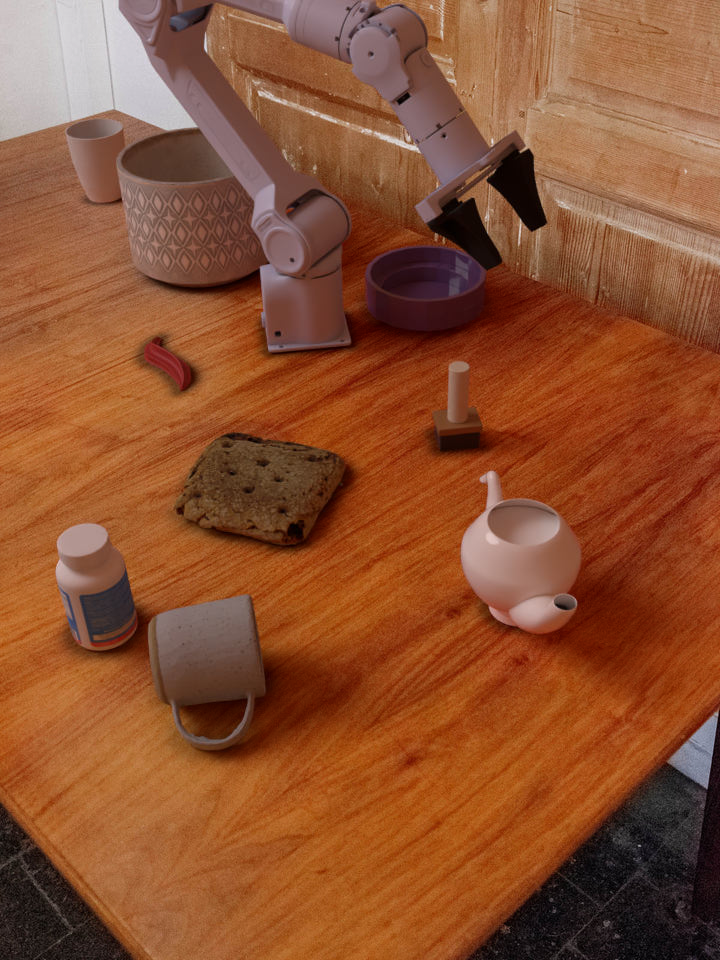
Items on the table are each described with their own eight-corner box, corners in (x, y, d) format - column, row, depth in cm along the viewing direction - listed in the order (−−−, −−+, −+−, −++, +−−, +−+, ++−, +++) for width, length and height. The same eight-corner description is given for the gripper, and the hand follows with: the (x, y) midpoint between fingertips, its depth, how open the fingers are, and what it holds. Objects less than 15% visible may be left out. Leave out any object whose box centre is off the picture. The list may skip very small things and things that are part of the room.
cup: (139, 185, 163) (129, 118, 157) (125, 207, 157) (114, 139, 151) (87, 184, 164) (74, 118, 158) (70, 206, 158) (57, 139, 152)
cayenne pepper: (141, 341, 127) (139, 326, 126) (181, 335, 128) (179, 320, 127) (151, 395, 118) (149, 380, 117) (194, 389, 119) (192, 374, 118)
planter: (129, 239, 149) (111, 135, 140) (264, 222, 152) (255, 120, 143) (139, 303, 134) (120, 192, 126) (288, 283, 137) (280, 173, 129)
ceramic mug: (158, 657, 88) (143, 589, 83) (259, 642, 89) (251, 573, 84) (163, 765, 79) (148, 696, 75) (275, 747, 80) (267, 677, 76)
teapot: (530, 522, 100) (538, 440, 94) (617, 685, 84) (632, 598, 78) (429, 539, 98) (430, 456, 93) (498, 708, 83) (505, 621, 77)
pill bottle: (150, 613, 92) (132, 524, 86) (118, 659, 88) (97, 569, 82) (92, 600, 93) (71, 511, 87) (59, 644, 89) (34, 554, 83)
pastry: (209, 576, 95) (205, 550, 93) (145, 471, 107) (141, 446, 106) (384, 514, 101) (384, 488, 99) (304, 421, 113) (303, 397, 112)
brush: (438, 453, 108) (440, 378, 103) (431, 433, 111) (433, 359, 106) (481, 448, 109) (485, 373, 104) (474, 429, 112) (477, 355, 106)
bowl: (375, 340, 126) (375, 306, 123) (359, 283, 137) (358, 250, 134) (496, 329, 127) (498, 294, 125) (470, 273, 138) (471, 240, 136)
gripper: (416, 146, 98) (498, 272, 101) (511, 77, 105) (585, 197, 108) (376, 175, 104) (455, 293, 107) (468, 107, 111) (539, 220, 114)
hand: (517, 246), depth 108 cm, fingers open, 7 cm apart
